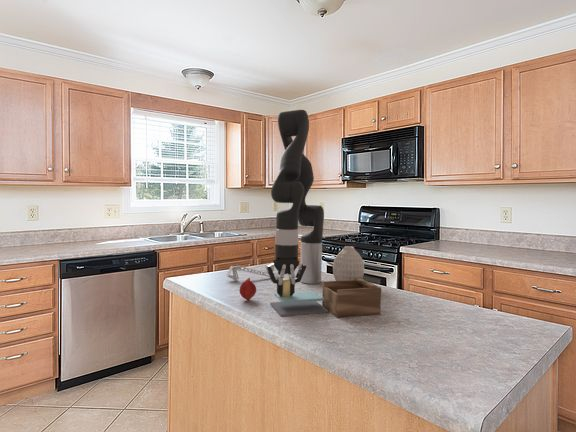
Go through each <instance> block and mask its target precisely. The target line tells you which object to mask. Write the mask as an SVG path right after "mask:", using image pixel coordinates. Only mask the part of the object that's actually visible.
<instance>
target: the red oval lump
mask: <svg viewBox="0 0 576 432" xmlns="http://www.w3.org/2000/svg"><path fill="white" fill-rule="evenodd" d="M256 293H257V287H256V284H255V283H254V282H253V281H252V280H251V277H248V278H246V280H244V281H243V282H242V283H241V285H240V286H239V294H240V296H241V297H242V298H243V299H244V300H246V301H250V300H251V299H252V298H253V297H254V296H255V295H256Z"/></svg>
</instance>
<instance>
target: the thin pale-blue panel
mask: <svg viewBox="0 0 576 432" xmlns="http://www.w3.org/2000/svg"><path fill="white" fill-rule="evenodd" d="M290 284H291V280H290V279H289V278H283V281H282V285H283V289H282V296H279V295H278V294H277V292H274V296H275V297H276V298H277V299H278V300H279V302H282V303H296V302H311V301H316V302H322V301H324V298H323V296H321V295H320V294H318V293H317V292H315V291H314V290H301V291H295V292H294V294H293V296H290Z"/></svg>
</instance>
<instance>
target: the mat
mask: <svg viewBox="0 0 576 432" xmlns="http://www.w3.org/2000/svg"><path fill="white" fill-rule="evenodd" d="M269 305H270V306H271V308H273V310H275V312H276V313H277V314H278V315H279V316H280V317H291V316H303V315H315V314H316V315H317V314H318V315H319V314H326V313H327V314H328V313H330V312H329V311H328V310H327V309H326V308H324V307H323V306H322V304H320V303H319V301H311V302H296V303H282V302H281V301H273V302H270V304H269Z"/></svg>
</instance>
